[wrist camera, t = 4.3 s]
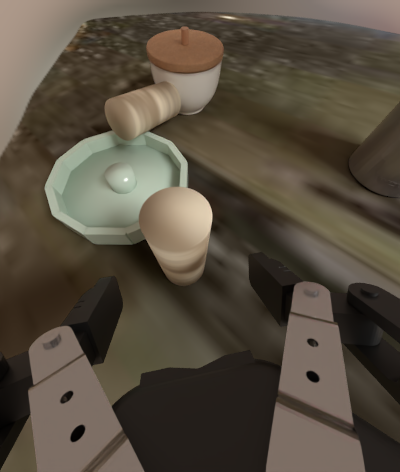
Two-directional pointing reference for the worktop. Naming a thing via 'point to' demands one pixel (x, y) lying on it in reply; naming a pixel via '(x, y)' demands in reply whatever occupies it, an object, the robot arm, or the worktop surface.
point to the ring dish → (112, 184)
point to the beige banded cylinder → (142, 109)
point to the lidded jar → (187, 65)
